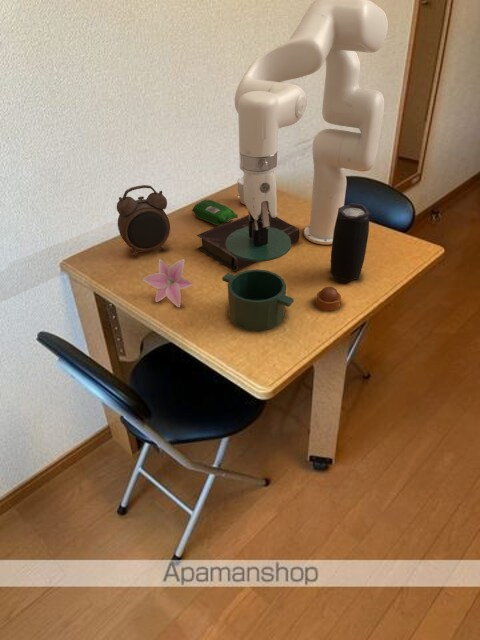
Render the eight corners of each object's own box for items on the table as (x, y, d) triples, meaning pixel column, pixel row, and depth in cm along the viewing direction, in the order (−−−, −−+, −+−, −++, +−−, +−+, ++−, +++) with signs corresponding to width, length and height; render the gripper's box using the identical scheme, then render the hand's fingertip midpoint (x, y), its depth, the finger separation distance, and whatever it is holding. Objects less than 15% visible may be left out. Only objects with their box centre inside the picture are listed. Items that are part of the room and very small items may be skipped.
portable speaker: (324, 281, 133) (331, 214, 121) (334, 264, 140) (342, 199, 128) (356, 288, 130) (366, 220, 118) (365, 270, 137) (375, 204, 125)
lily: (142, 294, 131) (133, 277, 122) (172, 263, 134) (166, 245, 126) (175, 320, 128) (168, 306, 119) (205, 289, 131) (201, 272, 122)
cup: (257, 212, 166) (257, 189, 161) (234, 210, 167) (233, 187, 162) (262, 198, 174) (262, 176, 169) (240, 196, 176) (240, 175, 171)
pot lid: (250, 224, 119) (250, 202, 116) (303, 241, 112) (304, 219, 109) (212, 251, 110) (211, 228, 106) (267, 271, 103) (267, 247, 100)
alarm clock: (127, 262, 142) (115, 197, 130) (121, 250, 147) (109, 186, 135) (175, 251, 147) (168, 187, 134) (168, 240, 152) (160, 177, 139)
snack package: (223, 231, 156) (223, 216, 152) (190, 216, 164) (189, 201, 161) (239, 224, 160) (239, 209, 156) (205, 209, 168) (205, 195, 165)
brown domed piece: (331, 294, 128) (333, 279, 125) (344, 307, 124) (346, 291, 121) (311, 300, 126) (312, 284, 123) (323, 313, 122) (325, 297, 119)
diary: (300, 243, 149) (301, 228, 146) (237, 273, 136) (236, 258, 133) (258, 222, 160) (258, 207, 157) (196, 248, 148) (195, 233, 144)
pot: (241, 288, 131) (241, 260, 126) (304, 313, 122) (306, 284, 117) (209, 313, 123) (207, 285, 117) (273, 342, 114) (274, 313, 108)
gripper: (289, 173, 93) (285, 257, 105) (265, 143, 105) (264, 221, 117) (250, 178, 92) (251, 262, 103) (230, 147, 104) (233, 226, 116)
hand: (258, 240), depth 110 cm, fingers closed on pot lid, 2 cm apart
